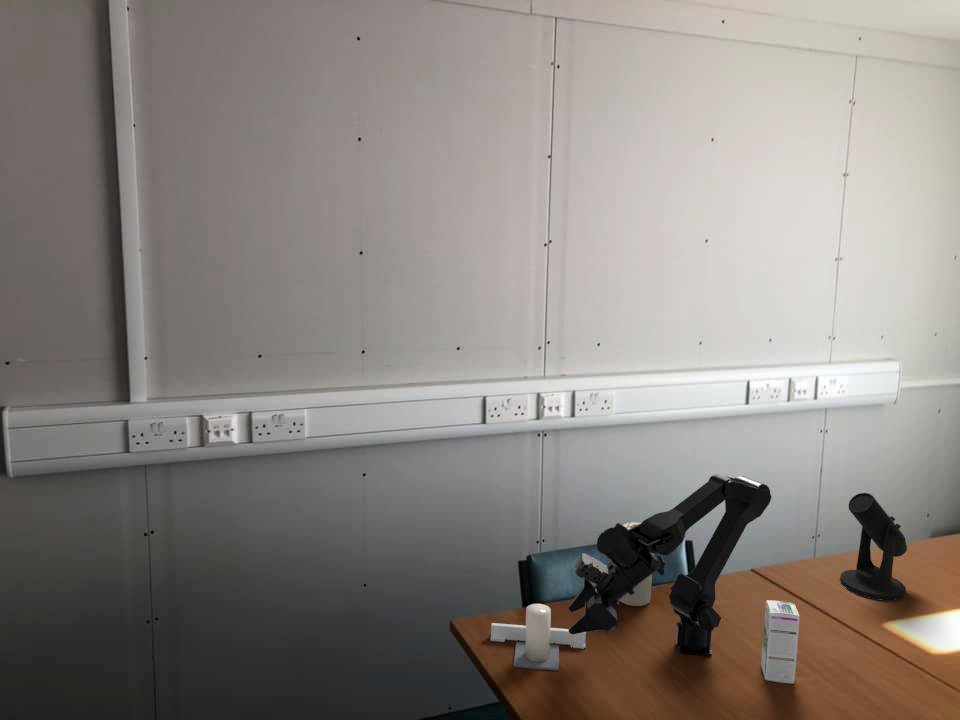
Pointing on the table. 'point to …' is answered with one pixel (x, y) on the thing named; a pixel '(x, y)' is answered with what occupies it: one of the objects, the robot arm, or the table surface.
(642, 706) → the table surface
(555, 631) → the light grey long bar
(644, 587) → the travel mug
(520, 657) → the slate mat
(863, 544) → the microphone
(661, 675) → the table surface
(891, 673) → the table surface
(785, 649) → the syrup box
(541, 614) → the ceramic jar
